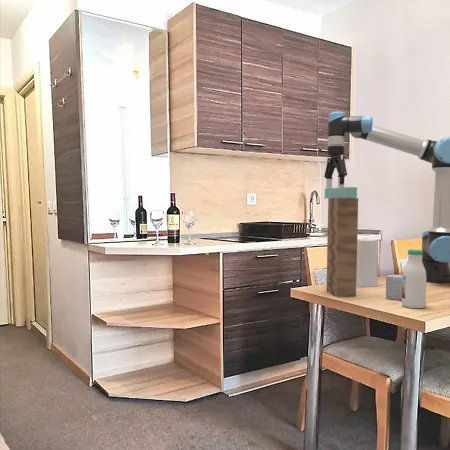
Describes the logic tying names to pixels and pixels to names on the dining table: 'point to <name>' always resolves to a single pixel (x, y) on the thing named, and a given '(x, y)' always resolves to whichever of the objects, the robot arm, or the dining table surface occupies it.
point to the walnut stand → (342, 246)
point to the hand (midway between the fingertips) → (334, 192)
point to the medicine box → (394, 287)
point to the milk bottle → (414, 281)
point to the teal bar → (341, 192)
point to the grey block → (367, 263)
